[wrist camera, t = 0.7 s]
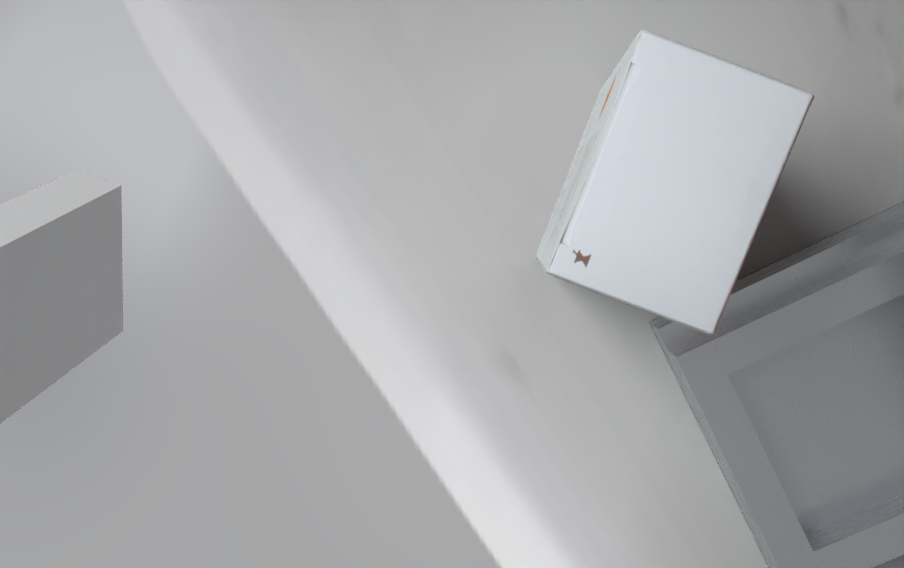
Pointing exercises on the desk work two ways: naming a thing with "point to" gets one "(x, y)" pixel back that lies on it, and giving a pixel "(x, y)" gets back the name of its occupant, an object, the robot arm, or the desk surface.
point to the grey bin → (809, 397)
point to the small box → (672, 180)
